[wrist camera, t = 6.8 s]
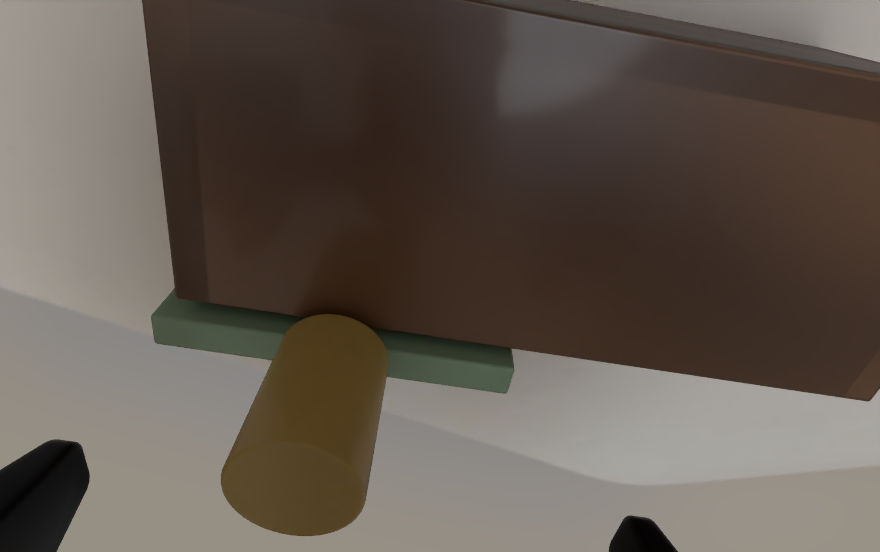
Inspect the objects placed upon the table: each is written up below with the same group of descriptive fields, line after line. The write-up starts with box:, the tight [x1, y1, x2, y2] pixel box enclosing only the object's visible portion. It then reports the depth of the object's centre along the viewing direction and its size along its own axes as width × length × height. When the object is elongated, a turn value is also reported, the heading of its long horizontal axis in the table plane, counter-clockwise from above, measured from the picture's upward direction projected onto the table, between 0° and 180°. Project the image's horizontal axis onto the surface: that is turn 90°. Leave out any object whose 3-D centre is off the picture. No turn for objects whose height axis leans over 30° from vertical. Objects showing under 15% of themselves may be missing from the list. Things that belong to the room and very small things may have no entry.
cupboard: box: [142, 0, 880, 401], centre depth 14 cm, size 8×16×8 cm, turn 81°
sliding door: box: [151, 288, 514, 536], centre depth 13 cm, size 2×8×11 cm, turn 81°
